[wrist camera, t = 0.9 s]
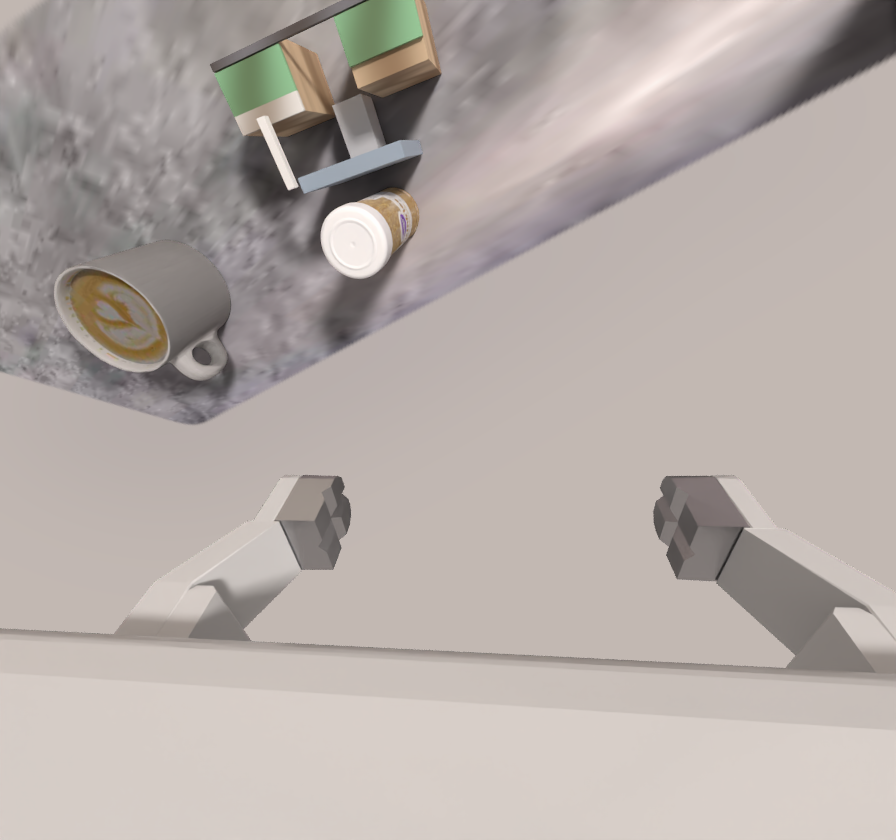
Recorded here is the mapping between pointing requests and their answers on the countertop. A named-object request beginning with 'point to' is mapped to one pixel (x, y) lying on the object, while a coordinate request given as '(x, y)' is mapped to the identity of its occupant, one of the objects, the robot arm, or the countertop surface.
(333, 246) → the sprinkles bottle
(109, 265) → the coffee mug
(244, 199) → the countertop surface
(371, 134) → the gauge plunger
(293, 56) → the tan and green block
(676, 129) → the countertop surface
